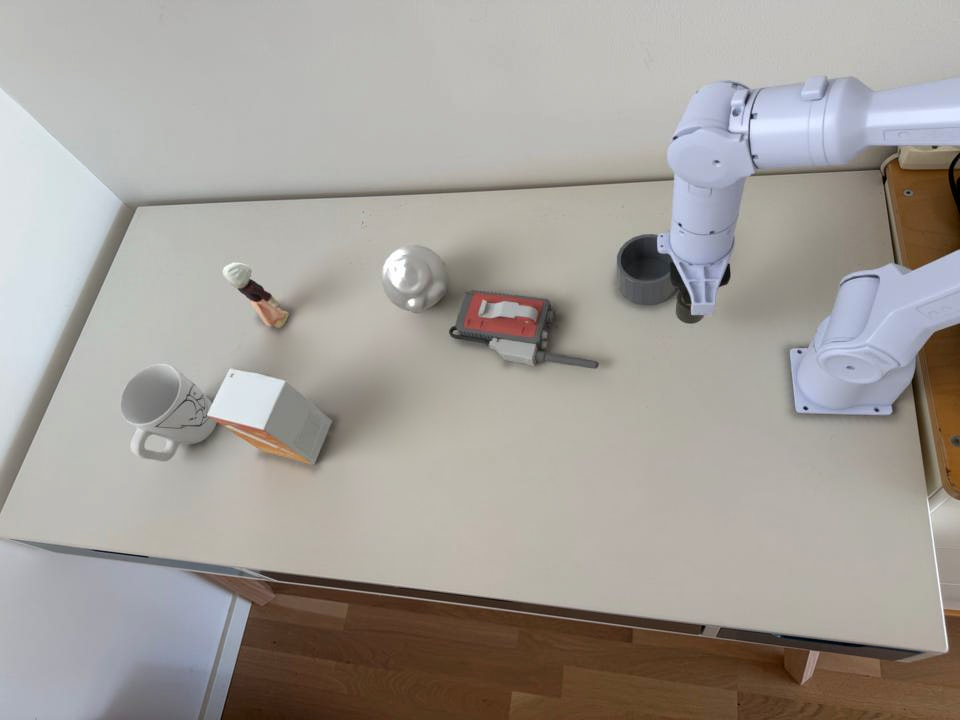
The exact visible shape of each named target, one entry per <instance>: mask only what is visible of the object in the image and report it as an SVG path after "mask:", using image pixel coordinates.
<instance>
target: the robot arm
mask: <svg viewBox="0 0 960 720" xmlns="http://www.w3.org/2000/svg"><path fill="white" fill-rule="evenodd" d="M881 146H882V147H887V146H888V147H960V76H956V77H950V78H945V79H939V80H934V81H933V80H932V81H928V82H923V83H917V84H910V85H905V86H900V87H893V88H889V89H881V90H878V91H875V90H874V89H871V87H869V86H868V85H866V84H865V83H864V82H862V81H861V80H860V79H859V78H856V77H855V76H852V75H851V76H849V75H848V76H843V77H835V78H828V75H819V76H812V77H808V78H807V79H806V80H805V81H804V82H797V83H789V84H782V85H774V86H773V85H772V86H766V87H758V88H750V87H749V86H747V85H746V84H744V83H742V82H739V81H736V80H731V79H722V80H717V81H714V82H711V83H708V84H705V85H703V86H701V87H700V89H699V90H696V91H695V92H694V93H693V94H692V96H691V98H690V99H689V102H688V104H687V106H686V108H685V110H684V112H683V115H682V117H681V119H680V121H679V122H678V125H677V126H676V129H675V131H674V133H673V135H672V137H671V139H670V141H669V145H668V147H667V150H666V160H667V164H668V166H669V169H670V170H671V171H672V172H673V173H674V175H673V188H672V189H673V190H672V202H671V203H672V204H671V218H670V219H671V220H670V221H671V222H670V230H669V231H667V232H665V231H664V232H660V233H658V234H657V235H658V238H657V248H658V252H659V253H663V254H665V253H667V254H669V255H670V256H671V257H672V259H673V261H674V262H670V280H671V283H672V285H673V286H675V287H676V289H678V290H679V291H680V292H681V295H682V299H683V301H684V303H685V304H691V315H704V316H713V315H714V314H715V310H716V306H717V305H716V304H717V293H718V290H719V288H721V287H724V286H727V285H728V284H729V282H730V280H731V263H730V259H731V257H732V255H733V252H734V248H735V244H736V237H735V233H736V228H737V223H738V219H739V213H740V208H741V203H742V199H743V193H744V189H745V184H746V179H747V177H752V175H754V174H755V173H756V171H758V170H771V169H773V170H774V169H793V168H810V167H811V168H813V167H831V166H846V165H847V164H849V163H851V162H852V161H853V160H855V159H856V158H857V157H858V156H859V155H861V154H862V153H863V152H865V151H866V150H867V149H869V148H870V147H881ZM837 292H838V293H837V295H836V298H835V300H834V301H835V302H834V305H833V308H832V311H831V313H830V314H829V315H828V316H827V317H825V319H823V320H822V321H821V322H820V324H819V325H818V327H817V329H816V330H815V332H814V335H813V337H812V339H811V341H810V343H809V345H808V347H792V348H791V349H790V350H789V359H790V369H791V379H792V389H793V398H794V399H793V400H794V408H795V409H794V410H795V411H796V413H798V414H806V415H807V414H811V415H847V416H848V415H851V416H852V415H853V416H855V415H856V416H890V415H892V414H893V411H894V410H893V405H894V403H895V401H897V399H898V398H899V397H900V396H901V395H902V393H904V392H905V390H906V389H907V388H908V387H909V385H910V384H911V382H912V380H913V378H914V374H915V372H916V371H915V370H916V362H917V361H916V359H917V358H916V357H917V354H918V353H919V352H920V350H921V349H922V348H923V347H924V346H925V344H926V343H927V341H929V339H930V338H931V336H933V334H934V333H935V332H938V331H941V330H943V329H946V328H949V327H952V326H956V325H958V324H960V248H959V249H957V250H955V251H953V252H951V253H948V254H946V255H944V256H942V257H940V258H938V259H935V260H933V261H931V262H929V263H927V264H924V265H923V266H920V267H918V268H916V269H911V268H909V267H906V266H904V265H901V264H898V263H894V262H889V263H887V264H885V265H883V266H880V267H879V268H873V269H865V270H859V271H853V272H851V273H849V274H847V275H845V276H844V277H843V278H842V279H841V280H840V281H839V284H838V288H837ZM799 352H800V353H799ZM804 408H806V409H804ZM876 410H877V411H876Z"/></svg>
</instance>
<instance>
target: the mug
mask: <svg viewBox="0 0 960 720" xmlns="http://www.w3.org/2000/svg"><path fill="white" fill-rule="evenodd" d="M212 403H213V402H212V401H211V400H210V399H209V397H207V396H206V394H205V393H204V392H203V391H202V390H201V388H199V387H198V385H196V384H195V383H194V381H192V380H190V378H188V377H187V376H186V375H184V374H183V372H181V371H180V370H179V369H178V368H176V367H174V366H173V365H171V364H167V363H154V364H151V365H147V366H146V367H144V368H142V369H140V370H139V371H138V372H136V373H135V374H134V375H133V376H132V377H131V378H130V379H129V381H128V382H127V383H126V385H125V387H124V388H123V390H122V393H121V396H120V400H119V410H120V413H121V415H122V417H123V419H124V420H125V421H126V422H127V423H128V424H130V425H132V426H133V427H135V428H136V431H135V432H134V434H133V435H132V437H131V441H130V451H131V453H132V454H133V455H135V456H137V457H139V458H142V459H145V460H153V461H157V462H167V461H169V460H171V459H172V458H173V457H174V456H175V454H176V452H177V451H178V448H179V445H180V444H187V445H192V444H198V443H200V442H203V441H204V440H205V439H207V438H208V437H209V436H210V435H211V434H212V433H213V432H214V430H215V428H216V427H217V423H218V422H216V421H214V420H213V419H211V418H209V417H208V416H207V414H208V412H209V410H210V408H211V405H212ZM152 435H154V436H157V437H160V438H164V439H165V440H166V445H165V447H164V449H163V451H161V452H160V451H156V450H150V449H147V448H145V444H146V441H147V439H148V438H149V437H150V436H152Z"/></svg>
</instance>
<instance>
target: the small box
mask: <svg viewBox="0 0 960 720" xmlns="http://www.w3.org/2000/svg"><path fill="white" fill-rule="evenodd" d="M211 403H212V405H211V408H210V410H209V412H208V414H207V416H208V417H209V418H211V419H213V420H214V421H216V422H217V423H218V424H219V425H221V426H222V427H223V428H225V429H227V430H228V431H230V432H231V433H233V434H234V435H236V436H237V437H239V438H241V439H242V440H244V441H245V442H247V443H248V444H250V445H251V446H253V447H254V448H256V449H257V450H259V451H261V453H264V454H265V453H266V454H271V455H275V456H278V457H282V458H283V457H284V458H287V459H291V460H295V461H298V462H302V463H304V464H305V463H306V464H309V465H312V466H314V465H315V464H316V462H317V460H318V457H319V455H320V452H321V450H322V447H323V445H324V443H325V440H326V438H327V435H328V433H329V431H330V428H331V425H332V423H333V420H332V419H331V418H329V417H328V416H327V415H326V414H325V413H323V412H322V411H321V410H320V409H319V408H318V406H317V407H316V405H314V404H313V403H312V402H311V401H310V400H309V399H308V398H306V397H305V396H304V395H303V394H302V392H299V391H298V390H297V389H296V388H295V387H294V386H293V385H292V384H291V383H290V382H288V381H287V380H285V379H281V378H277V377H274V376H269V375H265V374H261V373H258V372H252V371H246V370H242V369H237V368H233V367H231V368H229V369H228V371H227V373H226V375H225V377H224V379H223V381H222V382H221V385H220V387H219V389H218V391H217V393H216V395H215V397H214V399H213V402H211Z"/></svg>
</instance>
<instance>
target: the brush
mask: <svg viewBox="0 0 960 720" xmlns="http://www.w3.org/2000/svg"><path fill="white" fill-rule="evenodd" d="M675 302H676V303H675V316H676V317H677V319H678V320H679V321H680V322H682V323H685V324H690V325H693V324H696V323H699V322H701V321H702V320H703V319H704V318H705V315H691V304H685V303H684V301H683V299H682V295H681V292H680V290H679V291H678V292H677V295H676V301H675Z"/></svg>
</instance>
